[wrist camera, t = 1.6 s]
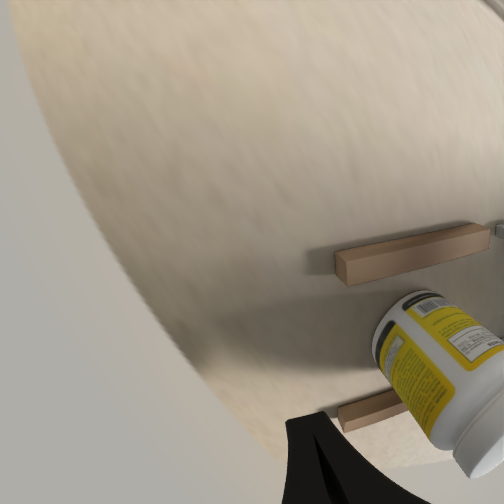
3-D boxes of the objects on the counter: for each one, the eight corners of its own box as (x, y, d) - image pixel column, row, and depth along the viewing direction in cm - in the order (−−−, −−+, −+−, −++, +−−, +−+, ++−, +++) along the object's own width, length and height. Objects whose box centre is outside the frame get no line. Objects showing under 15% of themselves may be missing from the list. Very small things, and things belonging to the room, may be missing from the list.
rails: (474, 222, 12) (490, 228, 11) (449, 375, 15) (459, 386, 14) (334, 251, 12) (346, 261, 11) (337, 418, 15) (344, 433, 14)
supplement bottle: (394, 380, 15) (469, 491, 7) (351, 339, 13) (444, 483, 5) (455, 321, 14) (553, 409, 6) (424, 267, 13) (559, 364, 5)
